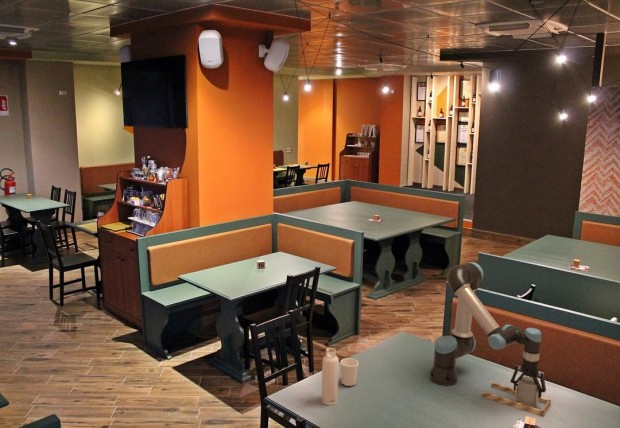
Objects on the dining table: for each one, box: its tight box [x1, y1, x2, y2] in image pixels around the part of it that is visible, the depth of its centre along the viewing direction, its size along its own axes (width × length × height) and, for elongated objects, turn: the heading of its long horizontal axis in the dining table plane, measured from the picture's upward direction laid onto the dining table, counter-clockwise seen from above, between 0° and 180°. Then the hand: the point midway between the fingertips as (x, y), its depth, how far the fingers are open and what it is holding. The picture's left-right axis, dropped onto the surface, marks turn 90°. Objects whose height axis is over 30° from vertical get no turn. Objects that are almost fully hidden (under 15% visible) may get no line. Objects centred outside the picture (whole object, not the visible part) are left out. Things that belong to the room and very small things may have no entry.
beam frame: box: [482, 381, 552, 418], centre depth 279 cm, size 30×14×3 cm, turn 53°
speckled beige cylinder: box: [515, 376, 538, 408], centre depth 276 cm, size 10×10×12 cm
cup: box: [339, 357, 360, 388], centre depth 293 cm, size 10×10×13 cm
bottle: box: [321, 347, 340, 406], centre depth 273 cm, size 8×8×28 cm
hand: (526, 399), depth 276 cm, fingers closed on speckled beige cylinder, 9 cm apart
